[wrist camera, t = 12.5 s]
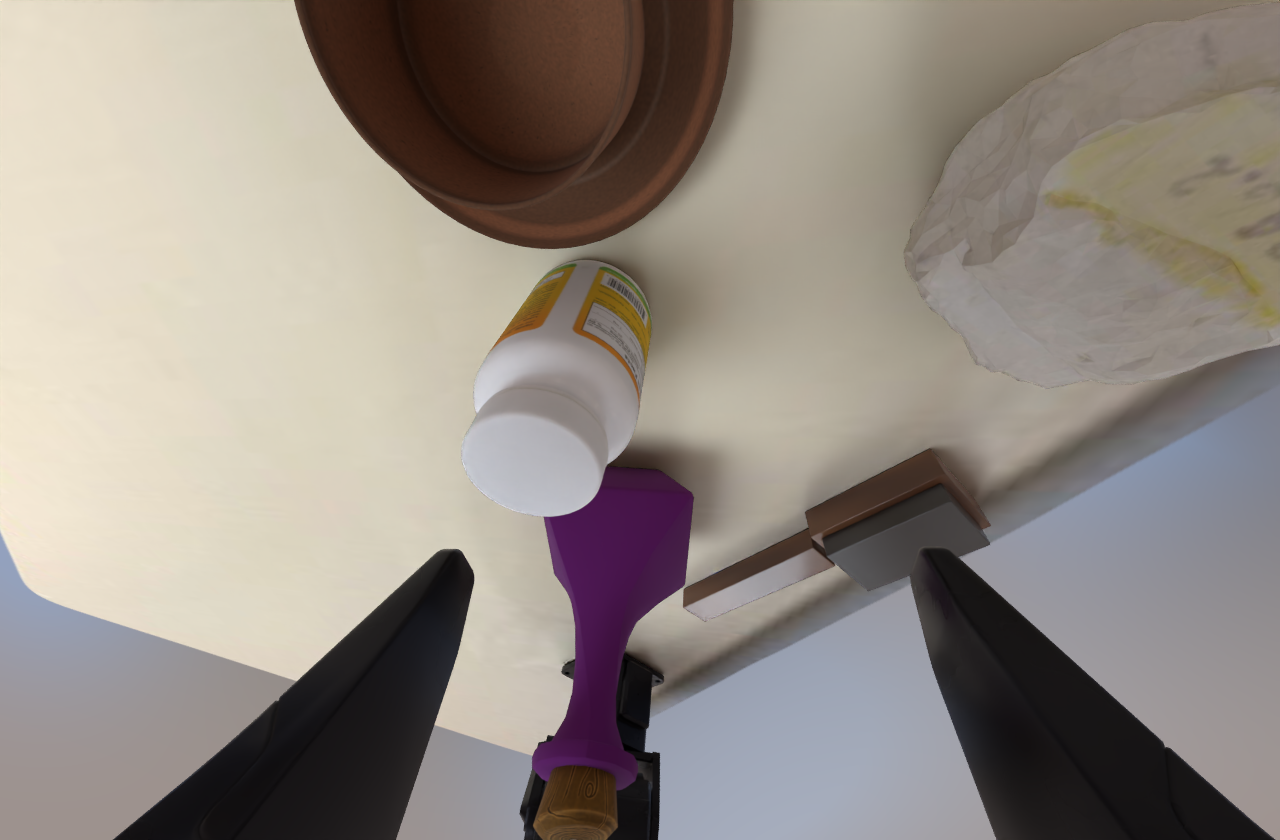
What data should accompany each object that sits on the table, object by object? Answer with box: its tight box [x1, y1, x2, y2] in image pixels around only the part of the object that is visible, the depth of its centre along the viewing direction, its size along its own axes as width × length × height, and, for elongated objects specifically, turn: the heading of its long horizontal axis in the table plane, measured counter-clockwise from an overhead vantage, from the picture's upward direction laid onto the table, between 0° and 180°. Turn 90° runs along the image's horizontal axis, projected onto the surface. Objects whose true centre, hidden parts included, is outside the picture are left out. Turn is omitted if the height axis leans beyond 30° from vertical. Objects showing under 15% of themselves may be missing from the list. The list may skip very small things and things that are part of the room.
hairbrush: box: [683, 449, 991, 621], centre depth 27 cm, size 18×5×3 cm, turn 136°
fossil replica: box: [903, 2, 1280, 389], centre depth 13 cm, size 12×8×10 cm
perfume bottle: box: [532, 466, 694, 840], centre depth 20 cm, size 8×8×18 cm
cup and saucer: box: [294, 0, 733, 249], centre depth 13 cm, size 12×12×6 cm
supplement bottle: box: [461, 260, 652, 517], centre depth 17 cm, size 5×5×10 cm
